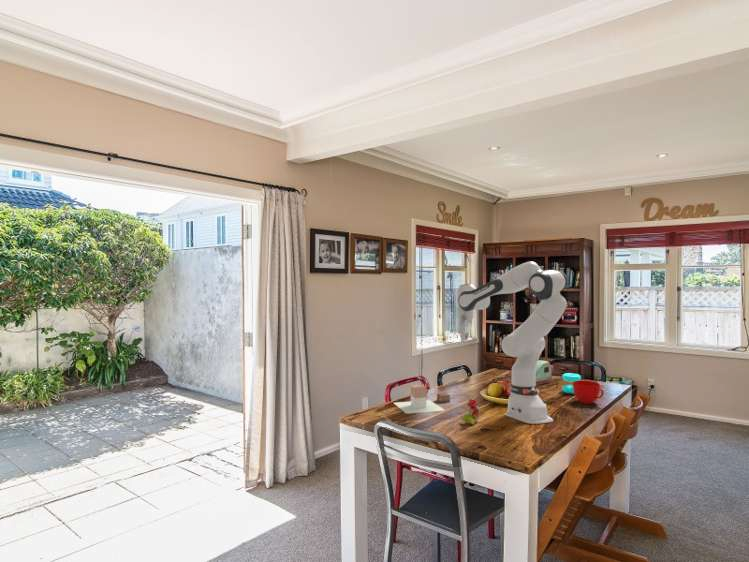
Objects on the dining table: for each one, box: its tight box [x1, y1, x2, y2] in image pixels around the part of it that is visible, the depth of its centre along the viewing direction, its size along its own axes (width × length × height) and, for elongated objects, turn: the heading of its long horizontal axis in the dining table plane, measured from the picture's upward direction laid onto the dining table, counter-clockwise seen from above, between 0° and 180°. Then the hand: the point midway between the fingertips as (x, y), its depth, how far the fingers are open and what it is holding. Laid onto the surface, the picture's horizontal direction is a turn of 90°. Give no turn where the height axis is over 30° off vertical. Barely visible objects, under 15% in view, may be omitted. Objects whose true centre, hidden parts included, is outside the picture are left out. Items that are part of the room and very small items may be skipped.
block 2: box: [410, 395, 427, 408], centre depth 238 cm, size 6×6×5 cm
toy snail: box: [536, 359, 554, 386], centre depth 299 cm, size 25×8×14 cm, turn 127°
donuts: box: [561, 372, 582, 395], centre depth 274 cm, size 10×10×10 cm
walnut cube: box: [436, 392, 451, 404], centre depth 248 cm, size 5×5×5 cm
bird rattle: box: [461, 398, 482, 426], centre depth 216 cm, size 6×11×9 cm
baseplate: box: [393, 399, 446, 415], centre depth 238 cm, size 20×20×1 cm
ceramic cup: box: [572, 380, 604, 405], centre depth 250 cm, size 13×17×10 cm
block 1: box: [410, 384, 427, 399], centre depth 238 cm, size 6×6×5 cm
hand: (464, 340), depth 253 cm, fingers open, 8 cm apart
